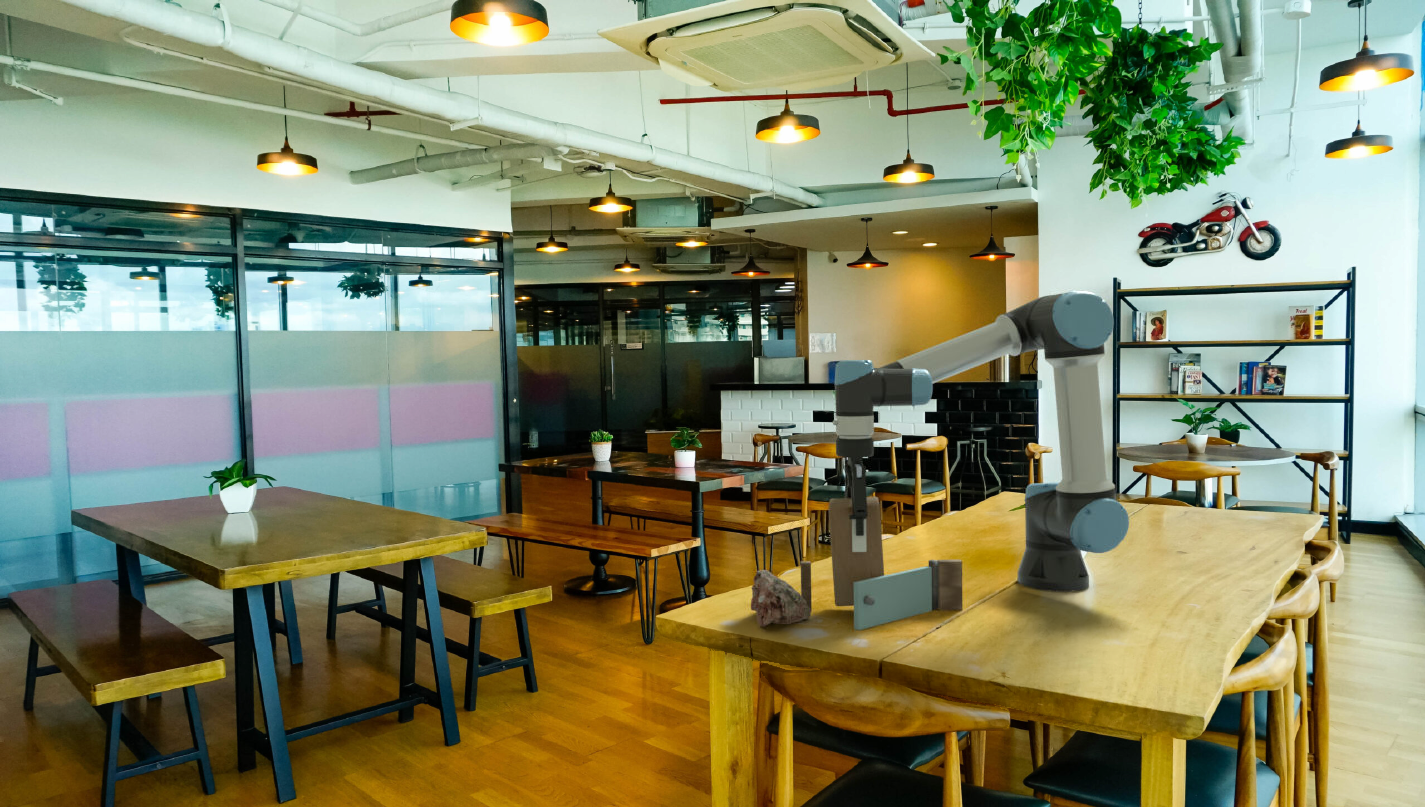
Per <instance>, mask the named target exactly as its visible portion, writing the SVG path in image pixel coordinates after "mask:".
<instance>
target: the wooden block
mask: <svg viewBox="0 0 1425 807" xmlns="http://www.w3.org/2000/svg"><path fill="white" fill-rule="evenodd" d="M866 497H867V513H868V517H866V550H867V552H852V519H849V516H850V515H853V510H852V498H845V497H843V498H830V499H829V503H828V521H829V524H828V525H829V534H830V536H829V538H830V539H829V540H830V548H831V549H830V550H831V551H830V552H831V565H832V566H831V567H832V582H833V592H834V595H833V596H834V604H835V606H837V607H854V582H857V581H862V580H866V579H871V578H875V577H880V576H884V575H885V565H884V553H883V552H884V549H883V533H882V521H881V517H882V516H881V507H880V501H879V497H877V496H866Z"/></svg>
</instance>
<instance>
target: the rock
mask: <svg viewBox="0 0 1425 807" xmlns="http://www.w3.org/2000/svg"><path fill="white" fill-rule="evenodd" d="M755 572H756V573H755V575H754V577H753V578H752V579H753V585H752V586H751V590H752V591H751V592H752V594H751V595H752V598H751V599H750V600H751V603H750V610H751V611H755V613H756V621H757V623H758V626H760V627H762V628H764V627H766V626H767V625H770V624H771V623H772V624H777V625H778V624H781V625H783V624H784V625H790V624H793V623H797V622H798V623H799V622H801V621H803V620H807V619H809V618H810V616H811V613H812V611H811V610H810V608H809V607H808V606H807V604H806V600H804V599H803V598H802V596H801V592H798V591H797V590H796V589H795V588H794V587H793V586H792V585H791V584H789V583H788V582H787V581H786V580H784V579H781V578H779V577H778V576H776V575H774V574H772V572H770V571H769V570H767V569H761V570H757V571H755Z"/></svg>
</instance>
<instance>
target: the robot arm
mask: <svg viewBox="0 0 1425 807" xmlns="http://www.w3.org/2000/svg"><path fill="white" fill-rule="evenodd" d="M1114 324H1115V321H1114V316H1113V312H1112V309H1111V308H1110V306H1109V304H1108V303H1107V301H1106V300H1104V299H1103V298H1102V297H1101V296H1100V295H1098V294H1096V293H1093V292H1090V291H1083V290H1082V291H1080V290H1078V291H1077V290H1072V291H1068V292H1063V293H1058V294H1056V293H1055V294H1049V295H1044V296H1041V297H1040V296H1039V297H1038V298H1035V299H1033V300H1031V301H1029V302H1026V303H1025V304H1022V305H1020V306H1019V307H1016V308H1014V309H1012V310H1010V311H1007V312H1005V313H1002V314H1000V315H998V316H997V317H996V319H995V322H992V323H989V324H988V325H985V326H982V327H979V328H978V329H974V330H972V331H970V332H967V333H964V334H962V335H960V336H957V337H955V338H951V339H949V340H947V341H944V342H942V343H938V344H936V345H933V346H931V347H928V348H926V349H923V350H921V351H919V352H916V353H914V354H911V355H908V356H905V357H903V358H900V359H898V360H896V361H894V362H890V363H888V364H885V365H883V366H880V367H874V366H873V365H874V364H873V361H872V360H871V359H862V360H861V359H855V360H854V359H853V360H839V361H838V362H837V363H836V364H835V372H834V374H835V375H834V391H835V392H834V395H835V399H834V400H835V419H834V420H832V426H836V427H835V434H836V435H837V436H838V437H837V438H836V439H835V455H836V456H837V457H840V458H847V459H845V460H844V466H843V470H844V498H852V510H853V515H850V516H849V519H852V552H867V550H866V517H868V513H867V497H868V496H867V482H866V480H867V479H866V474H867V467H866V466H865V465H864V464H863V458H870V457H873V456H874V453H875V451H874V450H875V448H874V447H875V446H874V443H875V442H874V439H873V437H872V436H873V435H874V434H875V427H874V426H875V422H874V420H875V417H874V407H876V408H877V407H878V408H879V407H908V406H909V407H916V406H924V405H927V404H929V402H930V400H932V395H933V389H934V386H933V384H935V383H938V382H941V381H943V380H946V379H947V378H948V379H949V378H950V377H953V376H955V375H958V374H960V373H963V372H966V371H968V370H971V369H973V368H976V367H979V366H981V365H983V364H986V363H988V362H991V361H994V360H996V359H998V358H1001V357H1004V356H1006V355H1010V356H1011V357H1016V356H1019V355H1022V354H1023V353H1028V352H1032V351H1033V352H1034V351H1038V350H1040V351H1041V350H1043V352H1044V353H1043V354H1044V360H1045V361H1046V362H1047V363H1048V364H1049V365H1050V366H1052V368H1053V378H1054V379H1053V380H1054V394H1055V402H1056V404H1055V405H1056V417H1057V418H1056V420H1057V427H1058V428H1057V429H1058V440H1059V452H1060V454H1059V455H1060V464H1061V465H1060V466H1061V467H1060V468H1061V477H1062V478H1061V481H1060V482H1042V483H1041V482H1040V483H1037V482H1036V483H1030V484H1028V485H1027V486H1026V488H1025V495H1024V496H1025V497H1024V502H1025V504H1024V508H1025V512H1024V513H1025V550H1024V552H1023V555H1022V558H1021V561H1020V564H1019V567H1018V570H1017V583H1018V584H1020V585H1021V586H1023V587H1027V588H1030V589H1035V590H1041V591H1048V592H1076V591H1083V590H1086V589H1088V588H1089V586H1090V576H1089V571H1088V570H1087V567H1086V563H1085V561H1084V558H1083V555H1082V552H1086V553H1092V554H1104V553H1107V552H1110V551H1112V550H1115V549H1116V548H1117V547H1118V546H1119V545H1120V544H1121V542H1122V541H1124V539H1126V536H1127V534H1128V531H1129V526H1130V519H1129V514H1128V512H1127V510H1126V508H1125V507H1124V506H1123V505H1122V504H1121V503H1120V501H1117V492H1116V484H1114V483H1113V482H1112V481H1111V480H1110V479H1108V478H1107V470H1106V469H1107V467H1106V453H1105V444H1104V443H1105V442H1104V441H1105V440H1104V430H1103V419H1102V418H1103V416H1102V407H1101V406H1102V405H1101V403H1102V402H1101V392H1100V380H1099V367H1098V366H1099V365H1098V364H1099V362H1100V361H1101V360H1102V359H1103V357H1104V356H1105V354H1106V352H1105V351H1106V350H1105V343H1106V342H1107V341H1108V340H1109V337H1110V336H1111V335H1112V332H1113V330H1114Z"/></svg>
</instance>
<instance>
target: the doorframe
mask: <svg viewBox="0 0 1425 807" xmlns="http://www.w3.org/2000/svg"><path fill="white" fill-rule="evenodd" d="M811 562H812V561H810V560H806V561H805V560H801V561H800V595H801V596H802V598H803V599H804V600H806V604H807V606H808V607H809V608H810V610H811V612H812V610H813V609H812V563H811ZM928 566H929V567H932V611H938V610H939V611H963V560H961V559H929V560H928Z"/></svg>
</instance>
